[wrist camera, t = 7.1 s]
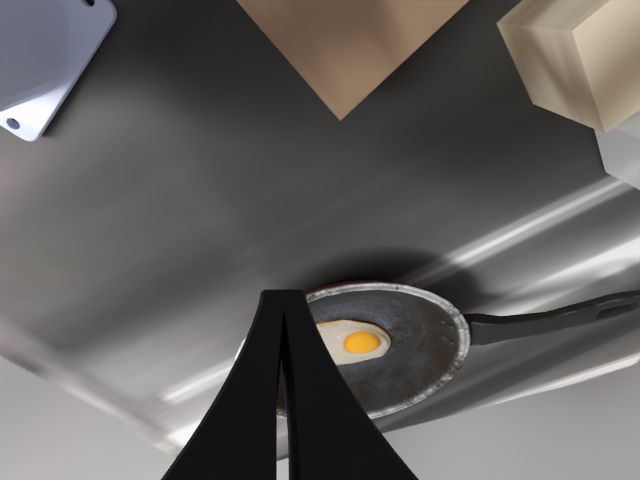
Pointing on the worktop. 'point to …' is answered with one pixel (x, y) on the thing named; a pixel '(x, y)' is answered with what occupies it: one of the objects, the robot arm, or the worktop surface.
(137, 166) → the worktop surface
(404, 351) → the frying pan
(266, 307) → the robot arm
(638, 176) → the jar
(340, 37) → the walnut block
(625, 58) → the maple block
